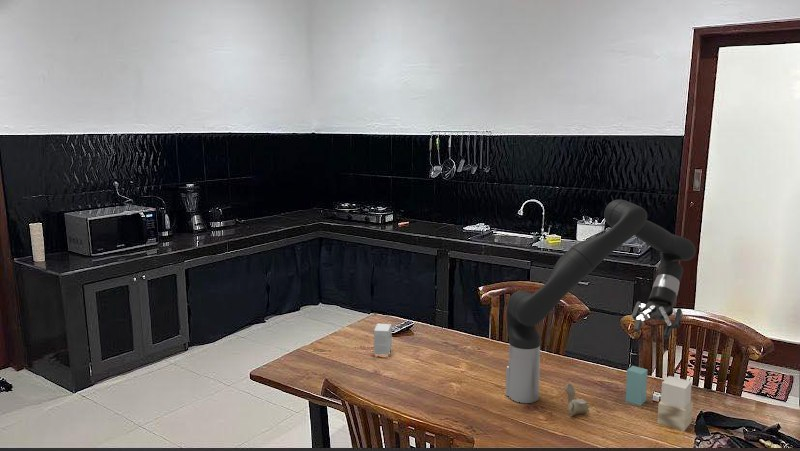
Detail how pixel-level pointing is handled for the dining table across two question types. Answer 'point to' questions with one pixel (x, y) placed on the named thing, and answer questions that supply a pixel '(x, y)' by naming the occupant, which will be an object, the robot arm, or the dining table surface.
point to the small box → (382, 338)
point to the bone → (575, 402)
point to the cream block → (676, 392)
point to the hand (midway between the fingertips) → (650, 334)
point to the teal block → (636, 385)
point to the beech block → (675, 416)
